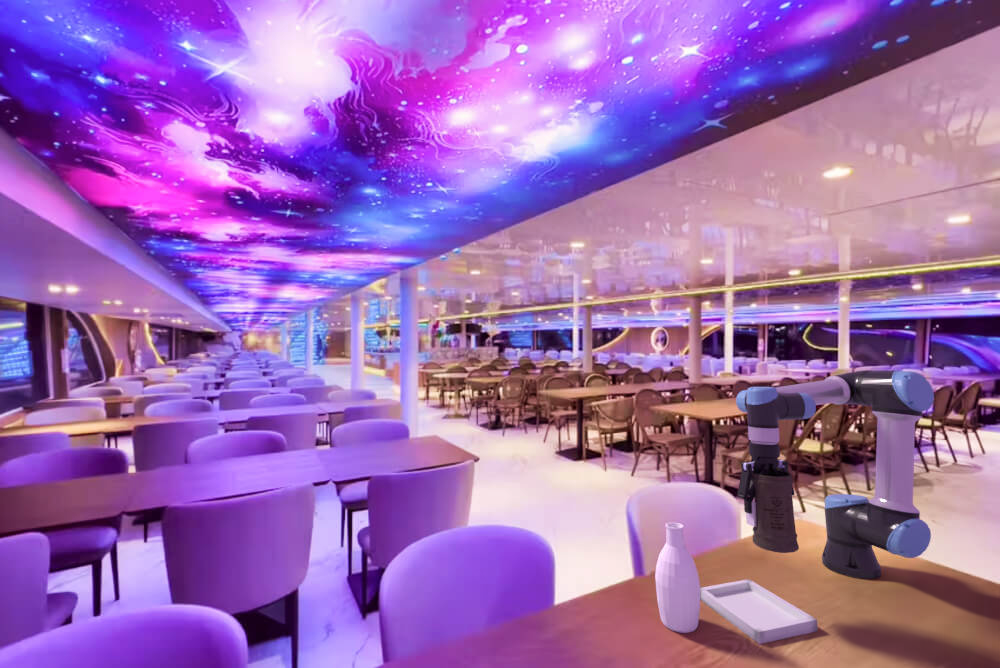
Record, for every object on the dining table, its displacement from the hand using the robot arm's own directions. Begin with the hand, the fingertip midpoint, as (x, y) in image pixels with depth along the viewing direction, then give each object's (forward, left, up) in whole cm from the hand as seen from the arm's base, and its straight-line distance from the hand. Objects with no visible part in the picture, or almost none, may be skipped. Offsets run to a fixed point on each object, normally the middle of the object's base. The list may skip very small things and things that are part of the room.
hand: (767, 523), depth 124 cm
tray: (+6, 0, -23) cm, 24 cm away
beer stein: (-1, 0, -5) cm, 5 cm away
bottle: (+28, -2, -24) cm, 37 cm away
